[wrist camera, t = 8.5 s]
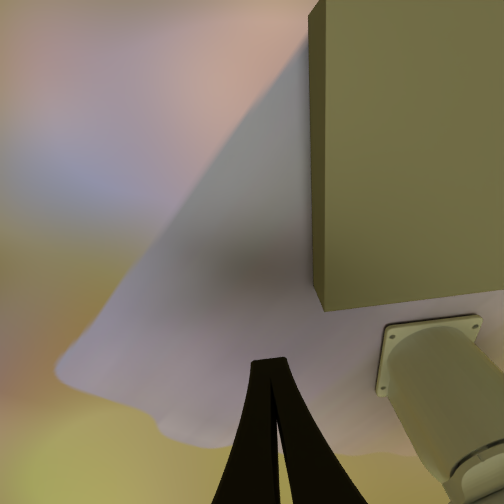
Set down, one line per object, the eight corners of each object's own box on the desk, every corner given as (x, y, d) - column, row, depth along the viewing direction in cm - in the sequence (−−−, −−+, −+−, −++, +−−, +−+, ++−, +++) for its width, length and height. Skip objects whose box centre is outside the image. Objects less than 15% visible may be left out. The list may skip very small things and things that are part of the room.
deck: (498, 261, 20) (537, 285, 17) (313, 285, 20) (324, 312, 18) (607, -31, 12) (708, -70, 10) (308, 15, 13) (326, -10, 10)
